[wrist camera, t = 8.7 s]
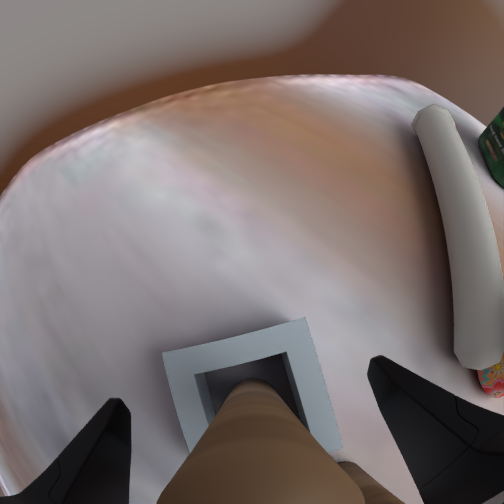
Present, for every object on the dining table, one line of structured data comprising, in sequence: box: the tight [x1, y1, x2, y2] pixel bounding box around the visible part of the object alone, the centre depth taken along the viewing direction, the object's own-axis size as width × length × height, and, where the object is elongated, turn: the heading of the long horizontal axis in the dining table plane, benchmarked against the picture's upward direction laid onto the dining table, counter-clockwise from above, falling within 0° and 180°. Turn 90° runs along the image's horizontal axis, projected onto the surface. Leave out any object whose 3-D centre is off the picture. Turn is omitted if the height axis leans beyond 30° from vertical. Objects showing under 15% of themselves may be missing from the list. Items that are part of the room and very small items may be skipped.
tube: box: [411, 104, 504, 370], centre depth 17 cm, size 5×5×25 cm
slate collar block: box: [162, 317, 343, 453], centre depth 14 cm, size 8×8×3 cm
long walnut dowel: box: [157, 378, 365, 504], centre depth 9 cm, size 3×3×14 cm
